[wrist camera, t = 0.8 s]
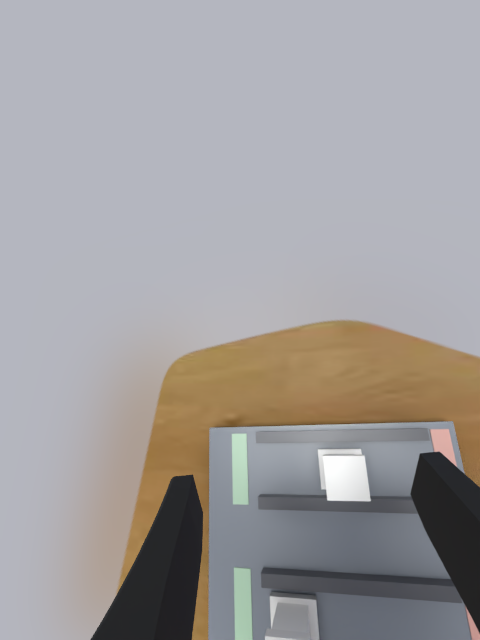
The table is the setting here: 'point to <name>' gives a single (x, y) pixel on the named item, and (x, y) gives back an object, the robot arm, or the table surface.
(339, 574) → the panel
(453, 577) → the robot arm
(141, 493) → the table surface
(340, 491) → the breaker
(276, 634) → the breaker
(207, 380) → the table surface
